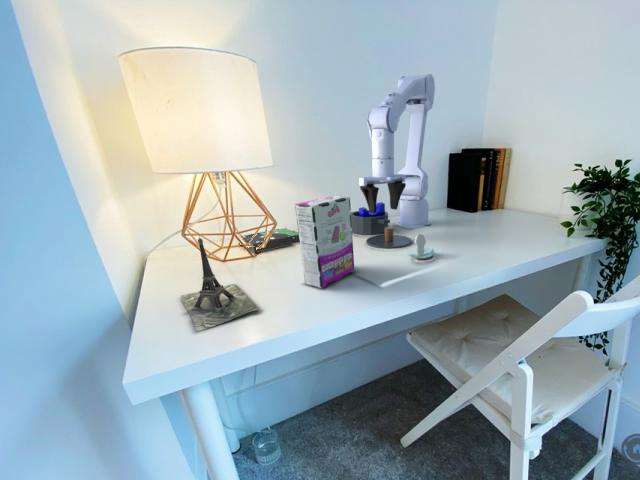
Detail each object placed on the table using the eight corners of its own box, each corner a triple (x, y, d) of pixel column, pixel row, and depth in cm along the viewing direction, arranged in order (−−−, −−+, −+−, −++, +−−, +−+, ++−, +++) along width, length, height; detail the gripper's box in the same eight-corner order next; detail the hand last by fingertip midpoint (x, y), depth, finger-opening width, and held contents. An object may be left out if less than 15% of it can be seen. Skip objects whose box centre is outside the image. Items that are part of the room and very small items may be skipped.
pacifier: (442, 260, 82) (424, 254, 86) (444, 235, 80) (426, 230, 84) (420, 267, 78) (403, 260, 82) (422, 241, 75) (403, 235, 80)
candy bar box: (337, 268, 78) (332, 194, 71) (355, 272, 75) (351, 196, 69) (302, 284, 69) (293, 202, 62) (321, 289, 67) (313, 205, 60)
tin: (367, 224, 117) (367, 207, 114) (401, 234, 105) (401, 215, 102) (339, 230, 110) (338, 212, 108) (371, 241, 98) (371, 220, 96)
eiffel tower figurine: (261, 312, 58) (248, 236, 53) (197, 331, 52) (174, 248, 47) (234, 285, 69) (221, 220, 64) (178, 299, 63) (159, 228, 58)
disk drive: (254, 254, 88) (304, 242, 97) (252, 244, 87) (302, 232, 96) (238, 246, 95) (285, 235, 104) (236, 236, 94) (284, 226, 103)
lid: (391, 235, 103) (391, 220, 101) (420, 244, 94) (421, 228, 93) (357, 243, 96) (356, 227, 94) (386, 253, 87) (386, 236, 85)
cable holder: (378, 213, 108) (378, 200, 105) (385, 216, 105) (384, 203, 103) (357, 219, 104) (356, 207, 102) (363, 222, 101) (362, 209, 99)
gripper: (370, 160, 82) (371, 216, 87) (413, 158, 90) (412, 209, 96) (353, 159, 87) (355, 212, 92) (396, 157, 95) (395, 206, 101)
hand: (383, 210), depth 94 cm, fingers open, 7 cm apart
